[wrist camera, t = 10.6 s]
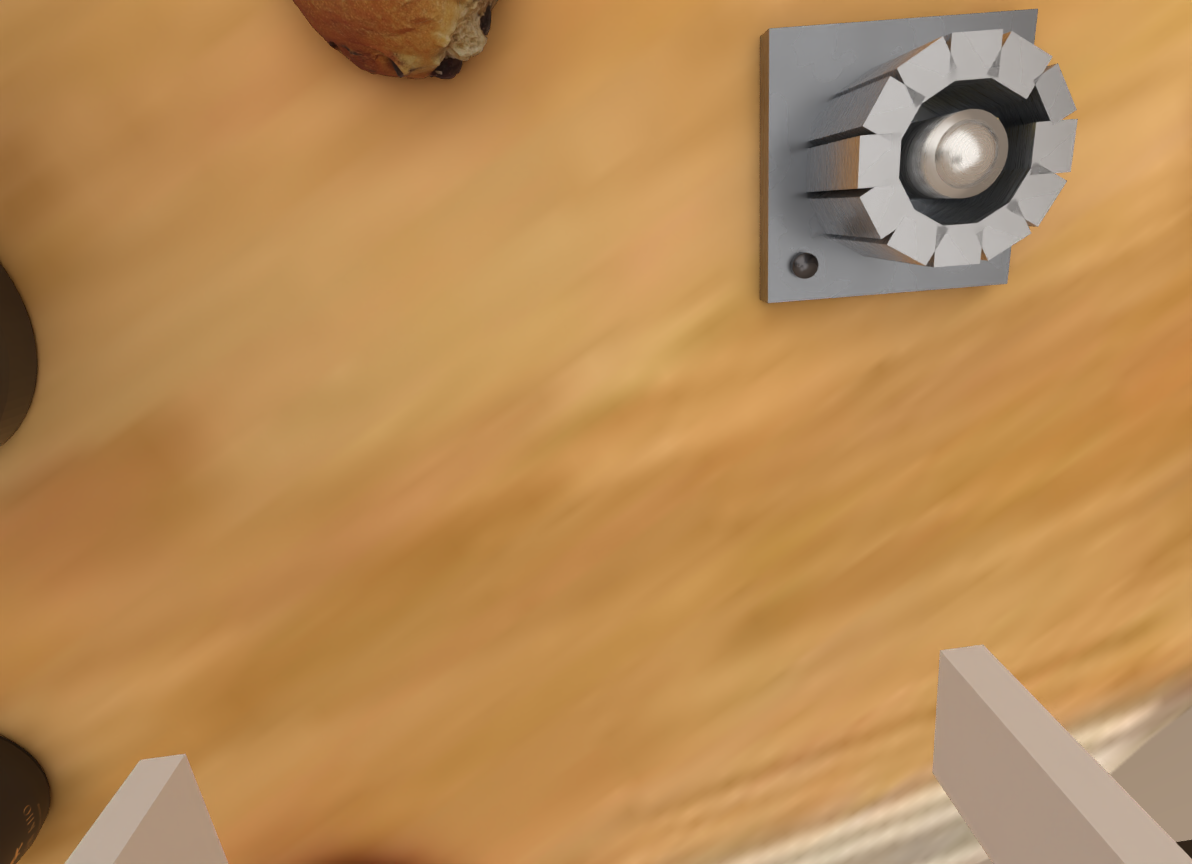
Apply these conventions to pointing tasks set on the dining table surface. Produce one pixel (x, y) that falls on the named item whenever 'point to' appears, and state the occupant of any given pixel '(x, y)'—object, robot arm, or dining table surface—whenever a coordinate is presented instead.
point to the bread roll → (403, 33)
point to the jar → (20, 801)
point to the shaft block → (927, 159)
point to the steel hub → (941, 85)
